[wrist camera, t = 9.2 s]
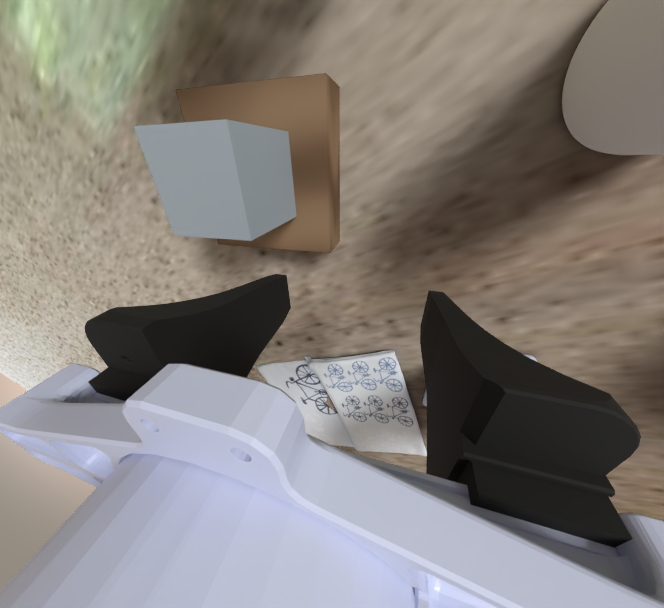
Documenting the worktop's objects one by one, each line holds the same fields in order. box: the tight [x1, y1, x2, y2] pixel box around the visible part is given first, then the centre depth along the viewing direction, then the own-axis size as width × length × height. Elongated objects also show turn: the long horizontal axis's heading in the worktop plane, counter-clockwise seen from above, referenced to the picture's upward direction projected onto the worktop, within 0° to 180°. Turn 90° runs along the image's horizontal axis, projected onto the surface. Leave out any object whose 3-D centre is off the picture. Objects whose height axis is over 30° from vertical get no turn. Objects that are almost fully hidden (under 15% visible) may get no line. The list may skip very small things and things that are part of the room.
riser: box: [176, 73, 340, 253], centre depth 18 cm, size 10×10×3 cm
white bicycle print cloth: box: [257, 350, 427, 456], centre depth 32 cm, size 19×20×2 cm
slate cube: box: [133, 119, 297, 241], centre depth 14 cm, size 5×5×6 cm
